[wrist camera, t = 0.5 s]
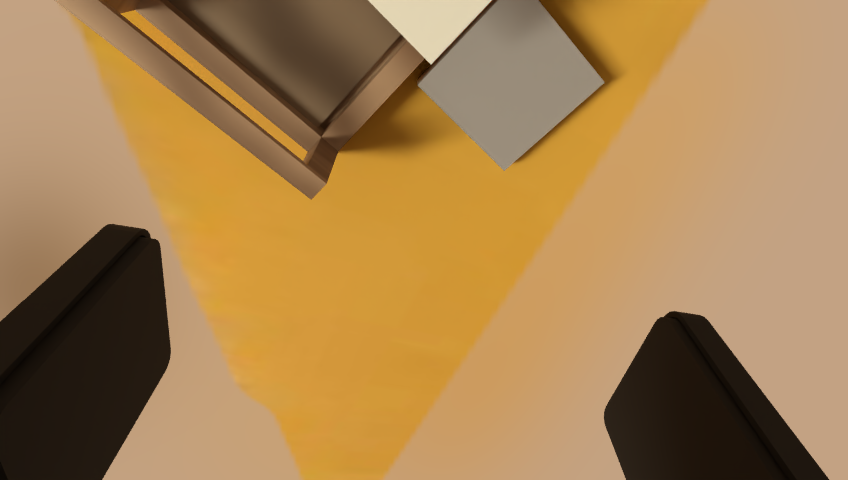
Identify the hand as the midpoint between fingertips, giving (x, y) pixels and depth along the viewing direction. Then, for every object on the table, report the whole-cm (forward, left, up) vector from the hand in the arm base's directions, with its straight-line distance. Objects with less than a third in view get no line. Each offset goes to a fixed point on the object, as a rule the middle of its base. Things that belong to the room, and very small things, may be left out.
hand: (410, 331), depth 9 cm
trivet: (-3, +6, -28) cm, 29 cm away
